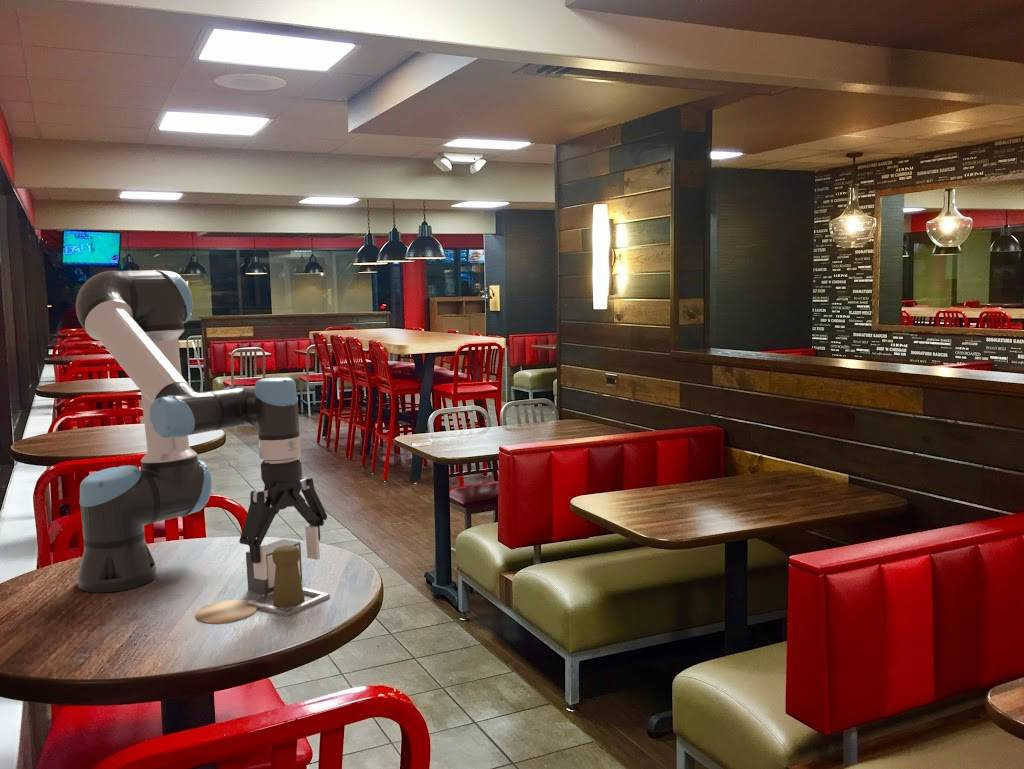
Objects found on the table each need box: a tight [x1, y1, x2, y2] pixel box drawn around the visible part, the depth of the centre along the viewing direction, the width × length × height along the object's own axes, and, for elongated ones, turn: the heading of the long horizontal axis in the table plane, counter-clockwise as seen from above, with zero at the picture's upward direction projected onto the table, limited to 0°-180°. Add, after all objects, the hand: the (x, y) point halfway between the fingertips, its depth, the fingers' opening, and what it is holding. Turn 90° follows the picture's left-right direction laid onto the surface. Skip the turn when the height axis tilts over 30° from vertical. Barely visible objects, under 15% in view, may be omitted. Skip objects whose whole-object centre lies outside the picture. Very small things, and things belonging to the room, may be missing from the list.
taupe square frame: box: [247, 587, 331, 617], centre depth 171 cm, size 11×11×1 cm
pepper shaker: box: [272, 545, 306, 609], centre depth 170 cm, size 6×6×11 cm
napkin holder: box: [245, 538, 303, 595], centre depth 180 cm, size 5×10×8 cm, turn 148°
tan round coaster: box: [195, 599, 258, 624], centre depth 166 cm, size 11×11×1 cm
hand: (288, 568), depth 170 cm, fingers open, 13 cm apart
